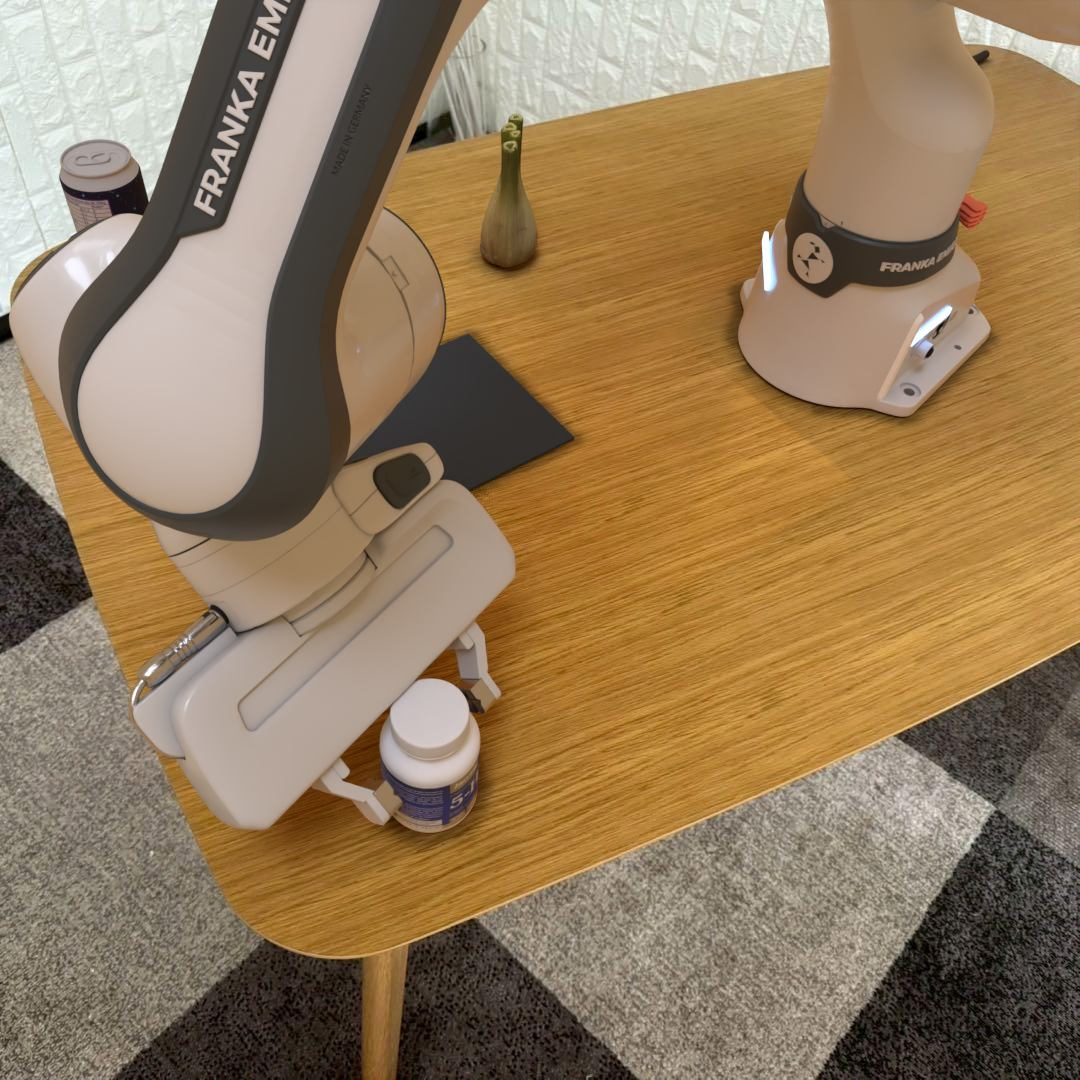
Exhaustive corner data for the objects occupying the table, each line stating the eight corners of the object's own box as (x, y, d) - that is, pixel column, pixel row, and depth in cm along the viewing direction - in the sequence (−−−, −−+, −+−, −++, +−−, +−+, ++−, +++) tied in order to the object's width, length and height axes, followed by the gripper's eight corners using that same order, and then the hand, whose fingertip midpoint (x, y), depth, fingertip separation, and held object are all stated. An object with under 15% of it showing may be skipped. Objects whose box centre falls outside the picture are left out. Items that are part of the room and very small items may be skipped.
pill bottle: (466, 843, 56) (469, 770, 49) (373, 824, 56) (362, 749, 49) (486, 757, 59) (491, 677, 52) (398, 740, 59) (392, 658, 53)
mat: (468, 336, 83) (468, 333, 82) (574, 439, 76) (574, 437, 76) (290, 410, 76) (290, 407, 76) (390, 531, 69) (389, 528, 69)
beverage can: (174, 308, 82) (139, 173, 73) (99, 318, 81) (54, 182, 71) (167, 266, 85) (133, 132, 76) (96, 275, 84) (52, 140, 75)
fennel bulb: (503, 231, 92) (509, 104, 83) (549, 251, 91) (560, 123, 81) (466, 262, 89) (468, 133, 79) (514, 283, 87) (521, 154, 78)
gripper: (127, 696, 41) (326, 927, 46) (451, 425, 52) (586, 632, 57) (86, 692, 46) (269, 901, 51) (390, 446, 57) (519, 634, 62)
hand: (439, 757), depth 54 cm, fingers open, 7 cm apart
